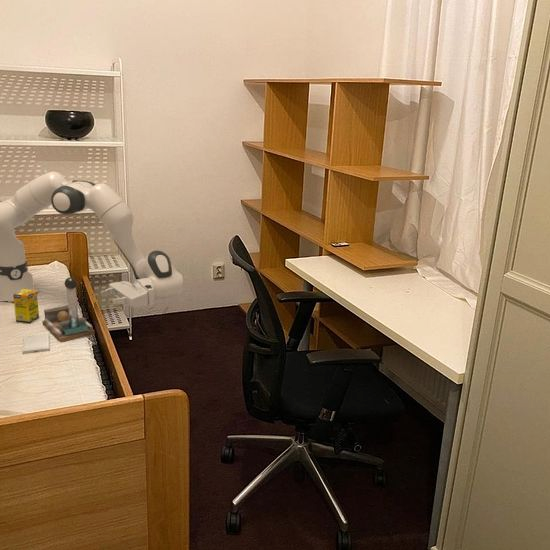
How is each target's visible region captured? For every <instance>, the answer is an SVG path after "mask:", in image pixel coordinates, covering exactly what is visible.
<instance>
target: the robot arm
mask: <svg viewBox="0 0 550 550" xmlns="http://www.w3.org/2000/svg"><path fill="white" fill-rule="evenodd" d="M50 206H52V207H53V209H54V210H55V211H56V212H57V213H59V214H61V215H68V216H70V215H73V214H74V215H75V214H78V213H81V212H84V211H86V210H91V211H92V212H93V213H95V215H96V217H97V218H98V219H99V220H100V221H101V223H102V225H104V227H105V228H106V229H107V231H108V232H109V234H110V236H111V237H112V240H113V242H114V244H115V245H116V246H117V248H118V250H119V251H120V252H121V253H122V255H123V257H124V258H125V259H126V261H127V262H128V264H129V265H130V267H131V269H132V273H133V276H134V278H135V279H134V282H133V283H131V282H130V281H126V280H123V281H115V282H111V283H108V288H107V289H105V290H101V291H100V296H101V297H103V298H104V297H108V295H113V296H114V297H113V298H111V299H110V300H111V301H110V303H111V304H112V305H127V306H128V307H130V308H134V309H135V308H142V307H147V306H149V307H153V306H154V305H155V301H156V300H158V299H163V300H164V299H168V298H171V297H172V298H173V297H174V296H177V295H179V294H181V292H183V290H184V285H185V281H184V277H183V275H182V274H181V273H180V272H179V271H177V269H176V268H175V267H174V266H173V264H172V263H171V258H170V256H169V255H168V254H167V253H166V252H164V251H162V250H152V251H151V252H150V253H148V254H147V255H146V256H145V255H144V254H143V253H142V251H141V250H140V248H139V247H138V245H137V244H136V242H135V240H134V238H133V224H134V216H133V214H132V211H131V209H130V207H129V206H128V205H127V204H126V203H125V201H124V200H123V199H122V198H121V196H120V195H119V194H118V193H117V192H116V191H115V190H113V188H112V187H110V186H109V185H108V184H106V183H102V182H100V183H97V184H96V183H94V182H92V181H89V180H76V179H75V180H72V181H68V180H67V179H66V178H65V177H64V176H63V174H61V173H60V172H57V171H49V172H47V173H44V174H42V175H40V176H38V177H35V178H34V179H32V180H30V182H28V183H26V184H25V185H23V186H21V187H20V188H19V189H17V190H16V191H15V193H14V195H12V196H11V197H9V198H8V199H6V200H3V201H0V300H1V301H0V302H4V301H8V303H9V302H14V297H13V294H14V293H17V292H19V291H21V290H22V289H27V290H36V291H37V292H38V293H40V291H39V289H38V288H35V285H34V279H33V274H32V273H31V272H29V269H28V268H29V267H28V266H29V265H28V261H27V260H26V253H25V252H26V251H25V245H24V242H23V241H22V240H20V239H19V238H18V237H17V236H16V233H15V229H16V228H19V227H21V226H23V225H24V224H27V223H28V222H29V221H30V220H31V219H32V218H34V216H36V215H37V214H38V213H40V212H41V211H44V210H45V209H46V208H49V207H50Z"/></svg>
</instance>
